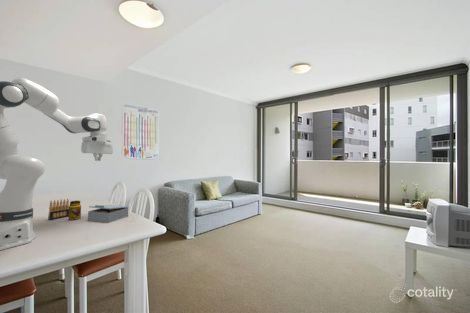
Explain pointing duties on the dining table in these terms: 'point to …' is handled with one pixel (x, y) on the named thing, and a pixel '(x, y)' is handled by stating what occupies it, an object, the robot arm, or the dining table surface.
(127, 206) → the lid
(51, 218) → the ammunition clip
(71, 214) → the condiment
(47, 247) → the dining table surface
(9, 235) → the robot arm
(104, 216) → the housing
